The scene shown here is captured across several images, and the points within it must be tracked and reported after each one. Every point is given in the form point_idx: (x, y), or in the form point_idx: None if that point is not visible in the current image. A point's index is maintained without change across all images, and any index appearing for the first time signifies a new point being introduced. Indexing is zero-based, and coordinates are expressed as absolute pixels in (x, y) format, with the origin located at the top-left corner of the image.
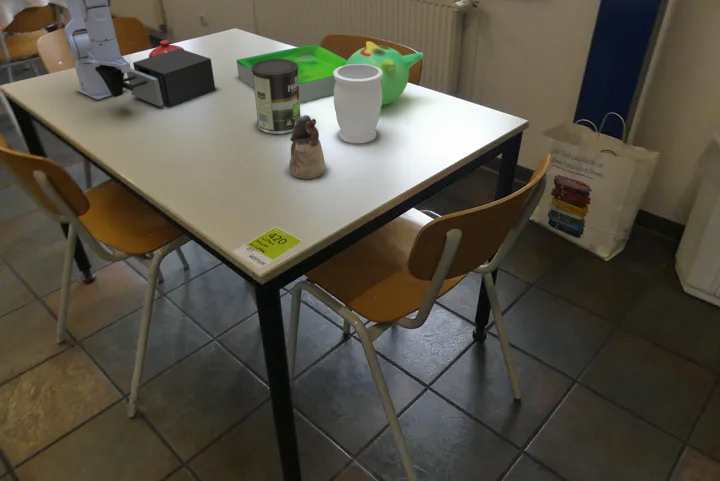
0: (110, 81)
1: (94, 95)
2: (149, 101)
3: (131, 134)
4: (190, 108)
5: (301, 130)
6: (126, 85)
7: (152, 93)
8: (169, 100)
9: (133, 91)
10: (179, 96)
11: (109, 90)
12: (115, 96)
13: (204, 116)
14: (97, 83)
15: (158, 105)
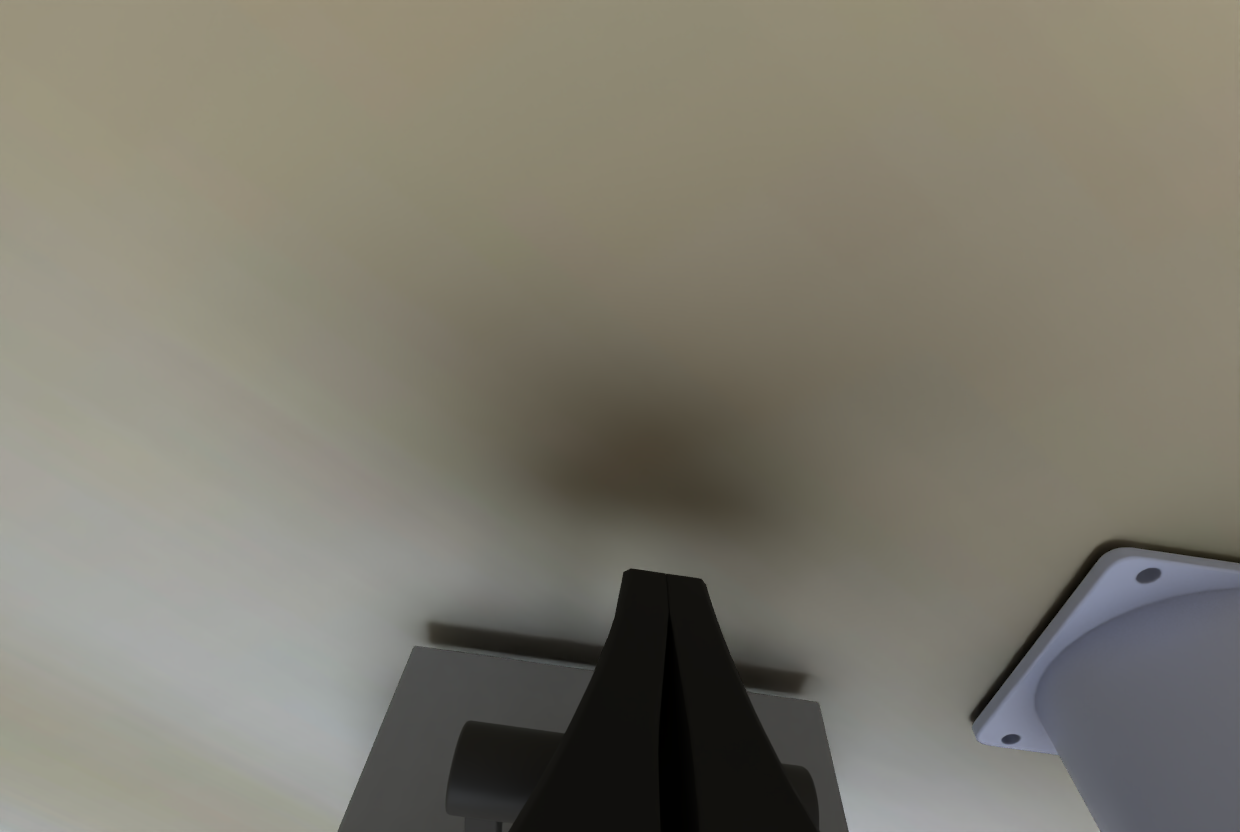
0: (524, 812)
1: (1203, 588)
2: (552, 671)
3: (53, 127)
4: (280, 700)
5: None
6: (510, 788)
7: (449, 753)
8: None
9: (783, 736)
10: None
11: (718, 635)
12: (626, 575)
13: (80, 657)
14: (1228, 733)
15: (422, 650)
